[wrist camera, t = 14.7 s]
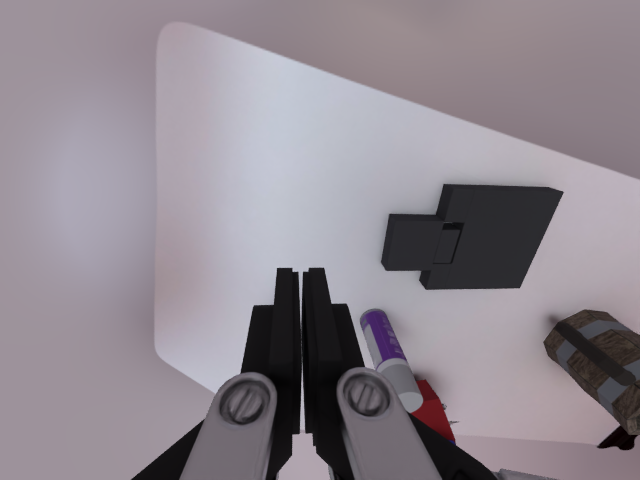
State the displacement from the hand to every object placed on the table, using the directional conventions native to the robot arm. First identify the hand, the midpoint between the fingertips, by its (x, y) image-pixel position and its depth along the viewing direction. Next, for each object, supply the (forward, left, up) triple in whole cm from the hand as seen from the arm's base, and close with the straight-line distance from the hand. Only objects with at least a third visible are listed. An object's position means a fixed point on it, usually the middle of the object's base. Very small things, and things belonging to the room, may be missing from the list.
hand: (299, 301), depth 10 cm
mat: (+10, +29, -27) cm, 41 cm away
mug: (+30, +54, -27) cm, 68 cm away
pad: (+10, +18, -27) cm, 34 cm away
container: (+26, +14, -27) cm, 40 cm away
